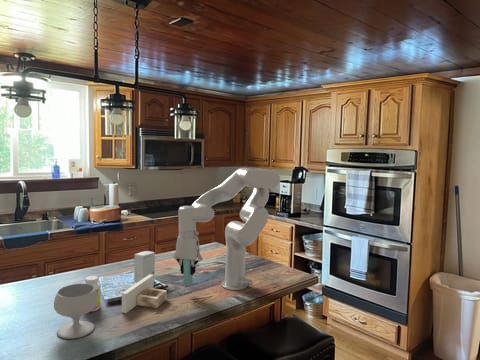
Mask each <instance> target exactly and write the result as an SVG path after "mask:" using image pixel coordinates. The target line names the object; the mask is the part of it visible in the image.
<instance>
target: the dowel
mask: <svg viewBox="0 0 480 360" xmlns="http://www.w3.org/2000/svg"><path fill="white" fill-rule="evenodd" d="M191 266H192V264H191V260H189V259H183V274H182V276H183V284H184V285H191V284H193V281H194V280H193V275H191Z"/></svg>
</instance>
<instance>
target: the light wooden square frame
mask: <svg viewBox="0 0 480 360" xmlns="http://www.w3.org/2000/svg"><path fill="white" fill-rule="evenodd" d="M167 293H168V290H165V289H159V288H154V287H153V288H147V289H145V290H144V291H143V292H141V293H140V294H139V295H137V305H136V306H141V307H148V308H153V309H158V308H159V307H160V306H161V305H162V304H163V303H164V302H165V301H166V300H167V296H168V295H167Z"/></svg>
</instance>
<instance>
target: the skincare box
mask: <svg viewBox="0 0 480 360" xmlns="http://www.w3.org/2000/svg"><path fill="white" fill-rule="evenodd" d="M155 255H156V252H154V251H151V250H150V251H149V250H144V251H140V252H138V253H134V269H133V270H134V272H133V274H134V275H133V276H134V277H133V281H134V282H139V281H140V280H142V279H143V278H145V277H146V276H148V275H149V274H152V275H154V276H155V272H156V271H155V267H156V264H155V263H156V256H155ZM134 282H133V283H134Z"/></svg>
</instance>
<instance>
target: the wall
mask: <svg viewBox="0 0 480 360" xmlns="http://www.w3.org/2000/svg"><path fill="white" fill-rule="evenodd" d="M154 282H155V274H154V275H152V274H149V275H148V276H146V277H145V278H143V279H142V280H140V281H139V282H137V283H136V284H133V285H132V286H130V287H129V288H127V289H125V290H124V291H123V292H121V313H123V314H127V313H128V312H130V311H131V310H133V308H135V307H136V306H138V305H137V295H139V294H140V293H141V292H143V291H144V290H145V289H147V288H154Z"/></svg>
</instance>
